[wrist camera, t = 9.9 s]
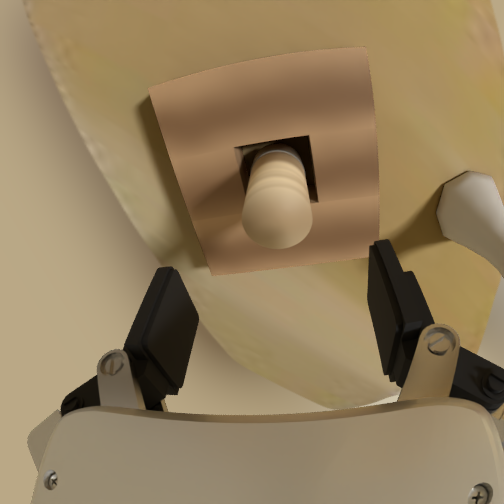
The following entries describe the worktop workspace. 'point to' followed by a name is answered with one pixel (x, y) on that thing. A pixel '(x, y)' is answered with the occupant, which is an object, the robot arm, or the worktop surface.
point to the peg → (277, 198)
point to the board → (267, 129)
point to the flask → (474, 216)
